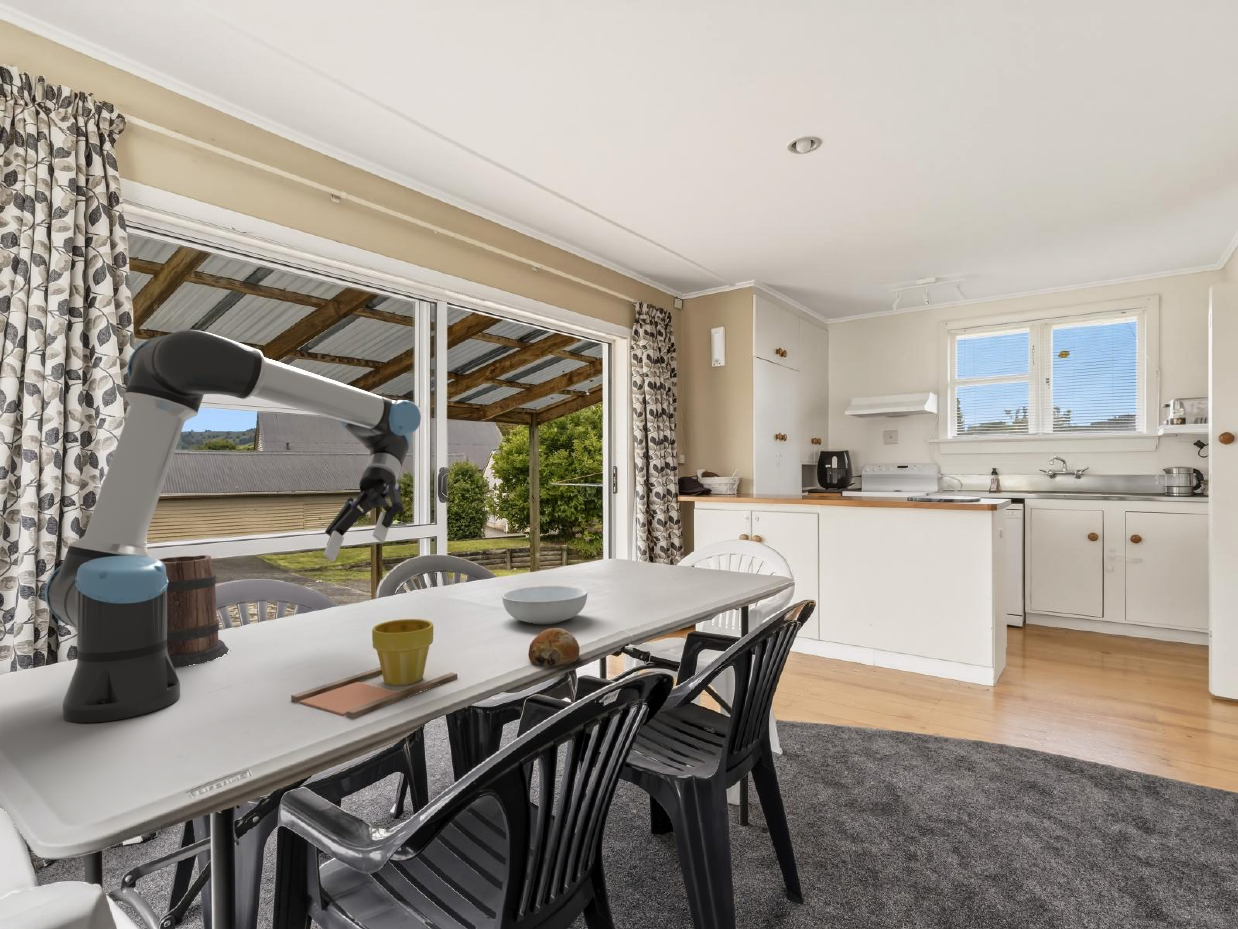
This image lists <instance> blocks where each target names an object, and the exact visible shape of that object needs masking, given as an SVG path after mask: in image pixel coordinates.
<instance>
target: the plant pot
mask: <svg viewBox="0 0 1238 929" xmlns="http://www.w3.org/2000/svg"><path fill="white" fill-rule="evenodd" d="M371 636H372V637H371V640H372V647H373V649H375V650H376V653H377V656H378V661H379V667H381V670H382V674H381V675H382V678H383V683H384V684H386V685H389V686H394V685H395V686H396V687H397V686H398V685H400V686H407V685H406V684H408V685H412V683H413V684H416V683H418V682H420V681H421V680H422V679H423V677H424V673H425V668H426V664H427V659H428V654H429V651H430V650H429V649H430V646H431V645H432V644H433V642H434V623H433V622H432V621H430V620H426V619H421V618H420V619H419V618H403V619H396V620H395V619H394V620H389V621H384V622H381V623H378V624H376V625H374V627H372V632H371ZM417 681H418V682H417ZM415 682H416V683H415ZM398 687H399V686H398Z"/></svg>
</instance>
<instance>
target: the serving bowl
mask: <svg viewBox="0 0 1238 929" xmlns="http://www.w3.org/2000/svg"><path fill="white" fill-rule="evenodd" d="M501 599H502V603H503V607H504V610H506V612H507V613H508V614H509V615H510V617H512V618H514V619H516V620H518V621H521V622H525V623H529V624H531V623H533V624H532V625H553V624H557V623H561V622H563V621H567V620H569V619H572V618H574V617H575V616H577V615H578V614H579V613H581V611H583V609H584V608H585V605H586V603H587V600H588V591H587V590H586V589H584V588H581V587H578V586H572V585H571V586H570V585H539V586H529V587H527V586H526V587H522V588H515V589H511V590H508V591H506V592H504V593H503V594H502V595H501Z"/></svg>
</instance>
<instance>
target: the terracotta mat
mask: <svg viewBox="0 0 1238 929" xmlns="http://www.w3.org/2000/svg"><path fill="white" fill-rule="evenodd" d="M397 692H398V690H397V691H396V690H394V689H393V690H392V689H389V688H384V687H379V686H375V685H371V684H367V683H364V682H360V681H359V682H355V683H352V684H349V685H346V686H343V687H340V688H337V689H334V690H331V691H328V692H325V693H322V694H319V695H316V696H313V697H310V698H307V699H304V700H301V701H299V703H300V704H303V705H306V706H309V707H313V708H316V709H320V710H324V711H327V712H330V713H333V714H337V715H340V716H347V711H348V710H351V709H354V708H356V707H359V706H362V705H365V704H367V703H370V702H373V701H375V700H378V699H381V698H384V697H386V696H389V695H392V694H394V693H397Z"/></svg>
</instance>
